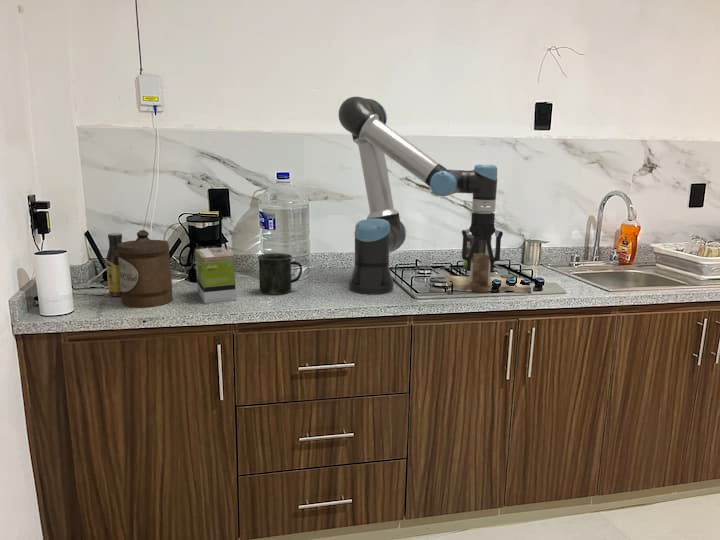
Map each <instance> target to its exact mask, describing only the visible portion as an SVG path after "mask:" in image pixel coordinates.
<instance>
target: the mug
mask: <svg viewBox="0 0 720 540" xmlns="http://www.w3.org/2000/svg"><path fill="white" fill-rule="evenodd" d="M292 257H293V256H292V255H291V254H289V253H281V252H280V253H279V252H276V253H264V254H259V255H257V260H258V274H259V275H258V277H259V279H258V280H259V282H258V283H259V291H260V293H261V294H265V295H271V296H272V295H286V294H288V293H290V292H291V290H292V284H293V283H296V282H298V281H299V280H300V279H301V276H302V273H303V267H302V264H301V263H300V262H298V261H291V260H292ZM292 265H295V266H298V267H299V272H298V275H297V277H295V278H294V279H292Z"/></svg>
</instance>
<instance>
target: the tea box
mask: <svg viewBox="0 0 720 540" xmlns="http://www.w3.org/2000/svg"><path fill="white" fill-rule="evenodd" d="M194 258H195V270H196V272H195V273H196V285H197V292H198V294H199V297H201V299H202V301H203V303H204V304H213V303H222V302H223V303H225V302H230V301H236V299H237V291H236V271H235V270H236V269H235V268H236V267H235V255H234V254H232V252H230V251H229V250H228V249H227V248H226V247H224V246H221V247H208V248H195V249H194Z"/></svg>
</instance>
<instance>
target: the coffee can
mask: <svg viewBox="0 0 720 540" xmlns="http://www.w3.org/2000/svg"><path fill="white" fill-rule="evenodd" d="M473 238H474V237H473V235H472V234H471V233H469V235H468V236H467V251H466V256H467V257H468V254H469V251H470V248H471V245H472V241H473ZM492 238H493V237H492V236H491V237H490V241H491V242H492ZM474 254H486V255H488V250H487V245H486V241H485V240H478V242H477V245H476V248H475V251H474ZM488 256H489V255H488ZM471 261H472V260H471ZM489 261H490V260H489ZM463 269H466V270H467V261H466V260H463Z"/></svg>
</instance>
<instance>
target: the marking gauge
mask: <svg viewBox="0 0 720 540" xmlns="http://www.w3.org/2000/svg"><path fill="white" fill-rule="evenodd" d="M472 261H473V276H472V281H471V284H472V291H474V292H475V291H476V292H475V293H477V292H478V293H479V292H480V293H488V292H487V286H488V270H489V256H488V255H486V254H473V257H472ZM472 291H471V292H472Z"/></svg>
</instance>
